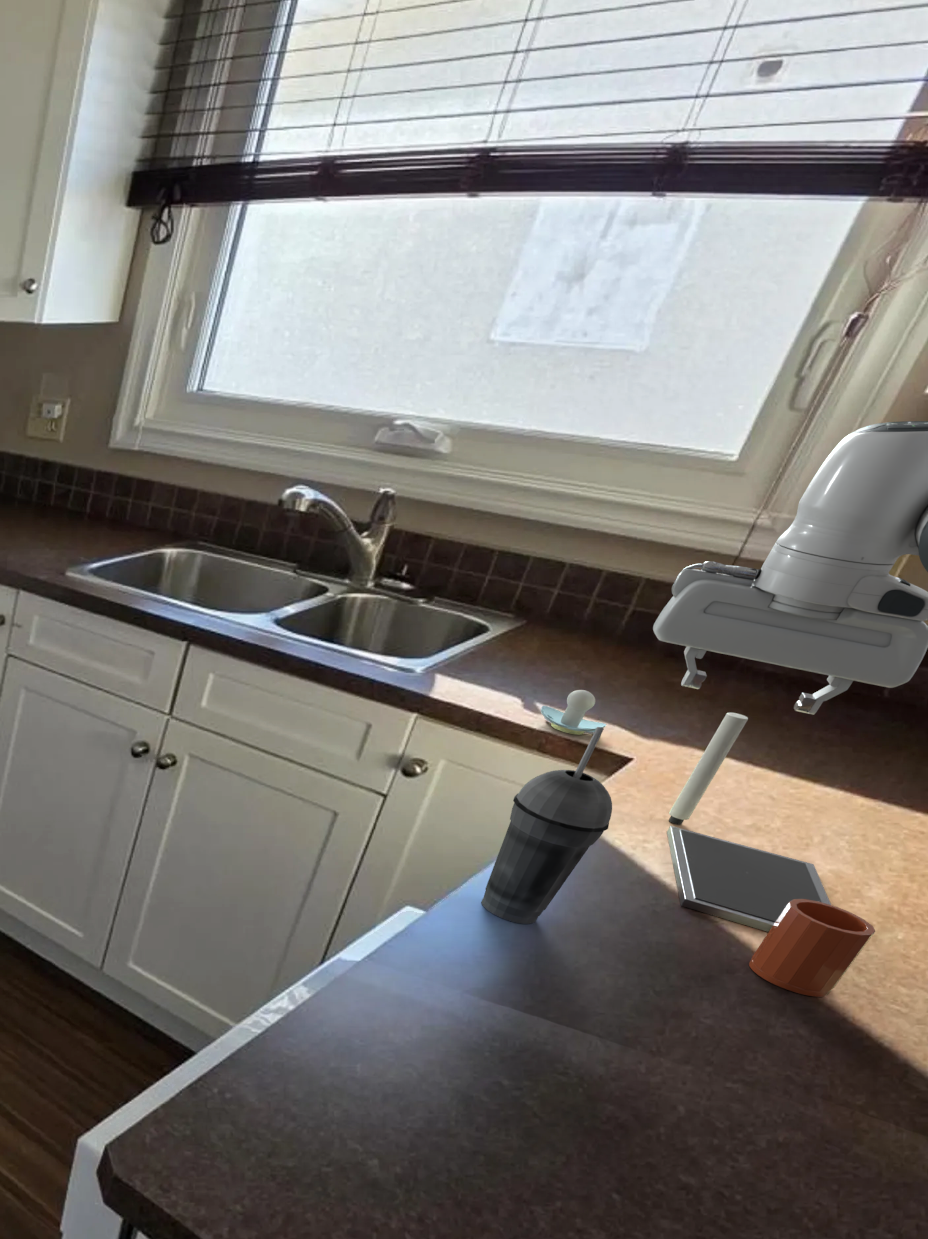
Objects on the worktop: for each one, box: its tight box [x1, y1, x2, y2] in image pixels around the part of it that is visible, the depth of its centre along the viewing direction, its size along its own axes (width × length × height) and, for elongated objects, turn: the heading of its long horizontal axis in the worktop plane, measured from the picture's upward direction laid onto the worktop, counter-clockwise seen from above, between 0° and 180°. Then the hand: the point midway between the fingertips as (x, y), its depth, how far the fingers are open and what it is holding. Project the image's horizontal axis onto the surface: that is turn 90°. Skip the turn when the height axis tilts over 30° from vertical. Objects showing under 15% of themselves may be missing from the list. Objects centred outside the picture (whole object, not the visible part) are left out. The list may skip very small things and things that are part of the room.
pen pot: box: [748, 899, 876, 998], centre depth 92 cm, size 5×5×7 cm
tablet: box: [666, 825, 832, 933], centre depth 108 cm, size 12×20×1 cm, turn 141°
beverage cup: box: [481, 727, 613, 925], centre depth 97 cm, size 7×7×20 cm
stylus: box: [668, 712, 749, 826], centre depth 117 cm, size 2×2×14 cm
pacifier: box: [540, 689, 607, 736], centre depth 143 cm, size 7×6×6 cm
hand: (745, 698), depth 113 cm, fingers open, 8 cm apart
